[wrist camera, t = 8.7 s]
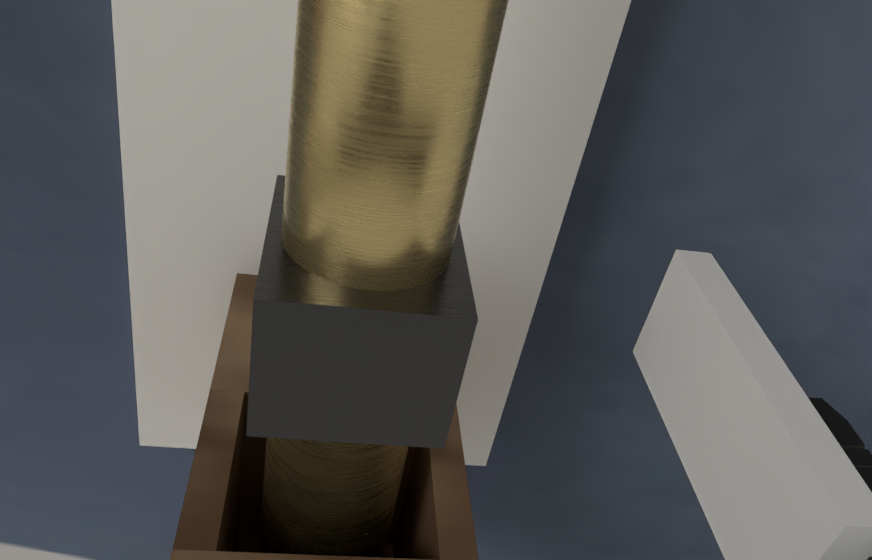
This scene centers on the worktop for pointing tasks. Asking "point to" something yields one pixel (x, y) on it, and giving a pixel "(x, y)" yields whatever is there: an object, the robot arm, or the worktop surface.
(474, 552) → the walnut socket
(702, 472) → the robot arm
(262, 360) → the brass rod
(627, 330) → the worktop surface
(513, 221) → the base board
